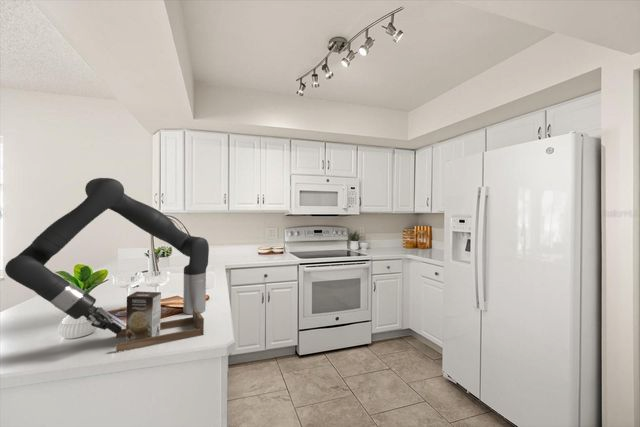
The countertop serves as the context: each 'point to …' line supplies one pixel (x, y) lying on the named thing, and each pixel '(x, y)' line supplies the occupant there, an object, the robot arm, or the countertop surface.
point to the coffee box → (143, 315)
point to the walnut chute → (195, 320)
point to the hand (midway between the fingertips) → (119, 331)
